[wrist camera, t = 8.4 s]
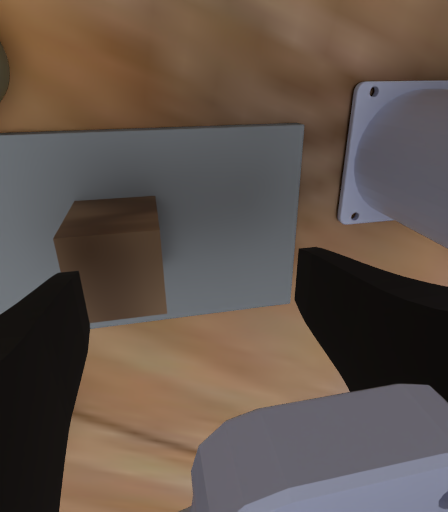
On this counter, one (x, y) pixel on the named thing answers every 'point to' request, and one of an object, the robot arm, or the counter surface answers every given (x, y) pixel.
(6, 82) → the sage cylinder
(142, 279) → the walnut block
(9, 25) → the counter surface
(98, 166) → the slate mat
